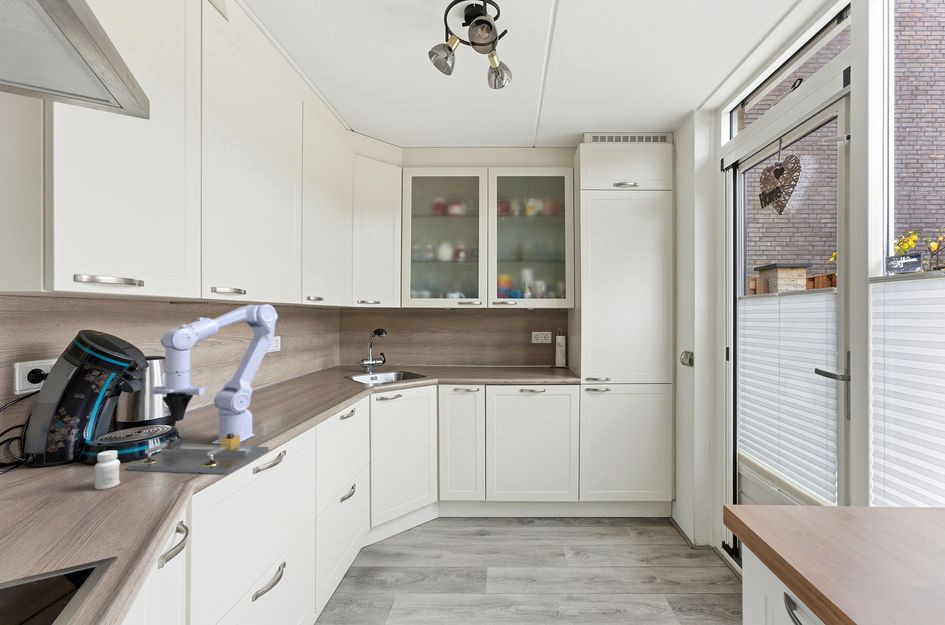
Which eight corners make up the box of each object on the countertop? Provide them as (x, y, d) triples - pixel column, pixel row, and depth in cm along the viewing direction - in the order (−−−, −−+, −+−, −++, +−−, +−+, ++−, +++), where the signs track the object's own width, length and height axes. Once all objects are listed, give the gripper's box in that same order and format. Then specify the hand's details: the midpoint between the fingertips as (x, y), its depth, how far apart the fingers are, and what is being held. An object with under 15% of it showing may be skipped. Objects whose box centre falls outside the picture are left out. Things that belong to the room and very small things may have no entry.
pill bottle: (125, 482, 97) (125, 449, 97) (106, 490, 92) (106, 456, 92) (108, 481, 97) (108, 449, 97) (89, 489, 93) (89, 455, 93)
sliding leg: (229, 450, 114) (229, 432, 114) (239, 450, 114) (239, 432, 114) (203, 463, 104) (203, 443, 104) (214, 463, 104) (214, 443, 104)
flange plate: (182, 448, 121) (182, 443, 121) (268, 451, 118) (268, 446, 118) (128, 470, 104) (128, 464, 104) (227, 474, 101) (227, 468, 101)
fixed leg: (172, 448, 116) (172, 436, 116) (180, 448, 115) (180, 436, 115) (142, 460, 106) (142, 447, 106) (151, 460, 106) (151, 447, 106)
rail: (166, 451, 115) (166, 445, 115) (250, 454, 112) (250, 448, 112) (160, 453, 113) (160, 447, 113) (245, 456, 111) (245, 450, 111)
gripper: (141, 373, 111) (141, 423, 111) (190, 374, 110) (190, 424, 110) (163, 369, 118) (163, 416, 119) (210, 370, 117) (210, 418, 117)
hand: (178, 420), depth 115 cm, fingers closed
